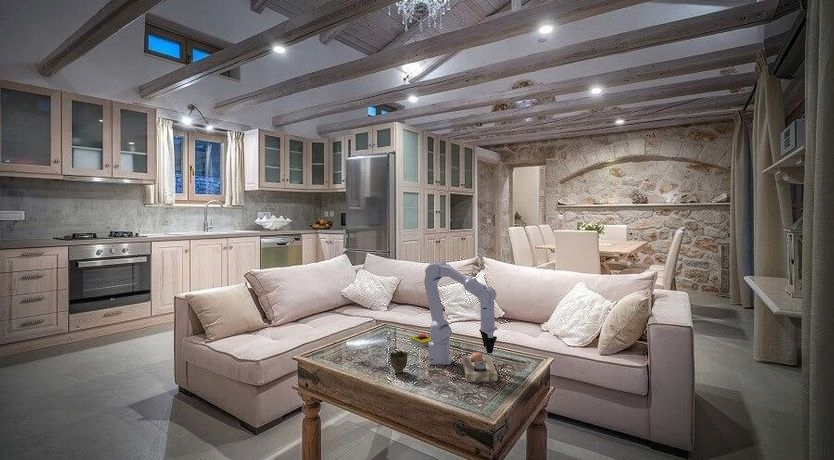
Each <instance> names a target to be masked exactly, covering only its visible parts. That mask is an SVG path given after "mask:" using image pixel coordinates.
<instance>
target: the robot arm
mask: <svg viewBox="0 0 834 460" xmlns="http://www.w3.org/2000/svg"><path fill="white" fill-rule="evenodd" d="M424 272H425V275H424V281H423V283H424V288H425V292H426V298H427V302H428V307H429V311H430V312H429V313H430V317H431V320H432V321H431V324H430V326H429V330H430V332H429V336H430V338H431V340H432V342H429V348H428V354H427V358H428V364H429V365H451V364H452V361H451V355H450V337H451V336H452V332H453V331H452V328H451V327H450V324H449V321H448V320H447V319H446V318H445V315H444V311H443V307H442V302H441V296H440V293H439V288H438V283H439V282H440V280H441V279H443V278H444V277H445V278H447V277H448V278H450V279H452V280H454V281H456V283H459V284H461V285H462V286H463V287H464V290H466V291H467V292H468V293H470V294H472V295H473V296H474V297H476V298H477V300H478V302H479V303H480V308H479V309H480V310H479V311H480V313H479V314H480V328H479V333H480V336H481V339H482V344H483V347H484V348H485V350H486V351H485V352H486V353H487V354H493V352H494V347H495V344H496V341H497V339H498V337H497V336H496V335H495V336H494V333H495V331H498V329H499V328H498V327H497V326H496V325H495V324H496V323H495V320H496V319H495V318H496V317H495V299H496V298H497V292H496V290H495V289H494V288H493V287H491V286H487V285H486V284H483V283H481V282H479V281H478V279H477V278H476V277H474V278H473V277H470V278H468V277H466V276H465V275H463V274H462V272H461V273H460V271H458V270H456V269H455V268H453V267H452V265H451V264H448V263H447V262H445V261H438V262H434V263H430V264H428V265H427V267H426V268H425V270H424Z"/></svg>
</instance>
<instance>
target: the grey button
mask: <svg viewBox="0 0 834 460" xmlns="http://www.w3.org/2000/svg"><path fill="white" fill-rule="evenodd" d="M475 371H476V372H485V371H486V363H485V362H484V361H476V362H475Z"/></svg>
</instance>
